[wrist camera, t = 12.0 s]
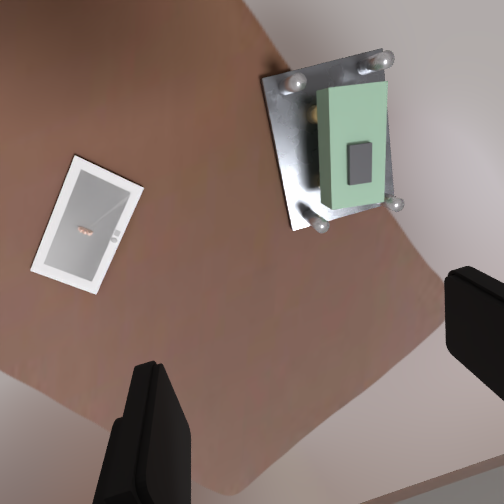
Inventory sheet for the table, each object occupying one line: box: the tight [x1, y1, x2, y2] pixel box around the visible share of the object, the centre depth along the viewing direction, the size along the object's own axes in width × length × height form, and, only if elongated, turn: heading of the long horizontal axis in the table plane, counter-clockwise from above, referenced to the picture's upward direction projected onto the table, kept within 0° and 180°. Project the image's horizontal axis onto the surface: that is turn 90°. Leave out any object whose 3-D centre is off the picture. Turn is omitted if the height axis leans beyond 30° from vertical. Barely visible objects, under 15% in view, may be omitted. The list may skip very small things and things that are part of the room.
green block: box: [316, 81, 388, 210], centre depth 37 cm, size 12×6×4 cm, turn 6°
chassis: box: [261, 48, 404, 233], centre depth 39 cm, size 18×14×6 cm
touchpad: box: [30, 155, 144, 294], centre depth 40 cm, size 8×15×2 cm, turn 151°
